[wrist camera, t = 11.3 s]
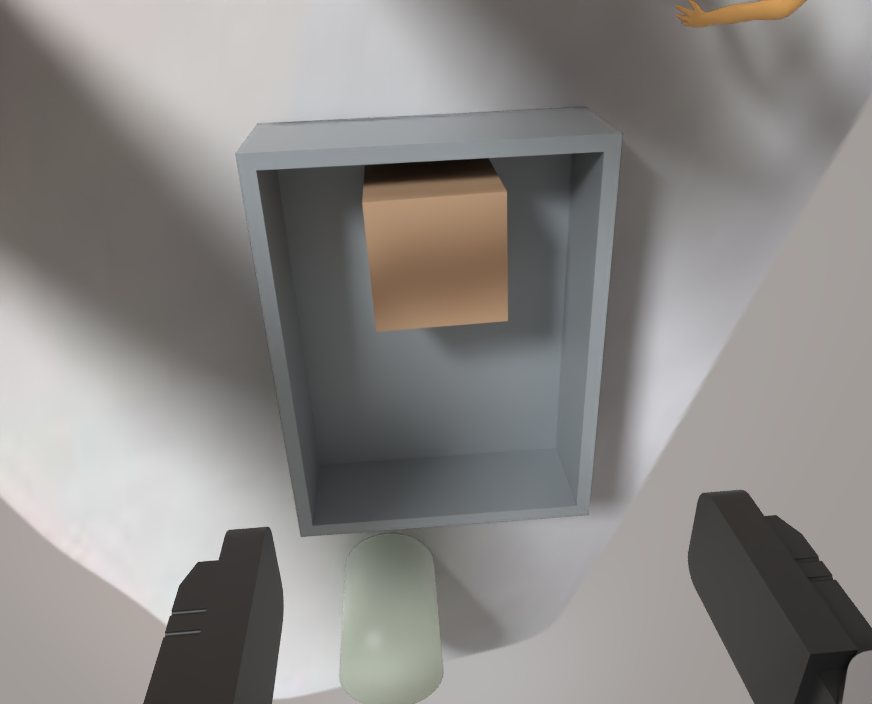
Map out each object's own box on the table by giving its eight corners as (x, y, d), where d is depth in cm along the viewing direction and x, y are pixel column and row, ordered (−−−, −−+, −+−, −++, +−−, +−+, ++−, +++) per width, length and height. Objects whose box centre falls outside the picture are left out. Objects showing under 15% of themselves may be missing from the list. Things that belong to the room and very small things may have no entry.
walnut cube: (364, 165, 29) (361, 202, 24) (487, 156, 29) (506, 191, 25) (376, 279, 31) (376, 331, 27) (490, 270, 31) (507, 321, 27)
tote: (310, 468, 37) (300, 536, 32) (257, 123, 28) (235, 153, 24) (564, 449, 37) (588, 514, 33) (585, 106, 29) (622, 133, 25)
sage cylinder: (351, 602, 42) (345, 712, 35) (340, 537, 39) (332, 644, 33) (436, 593, 42) (446, 702, 36) (430, 529, 39) (440, 634, 33)
